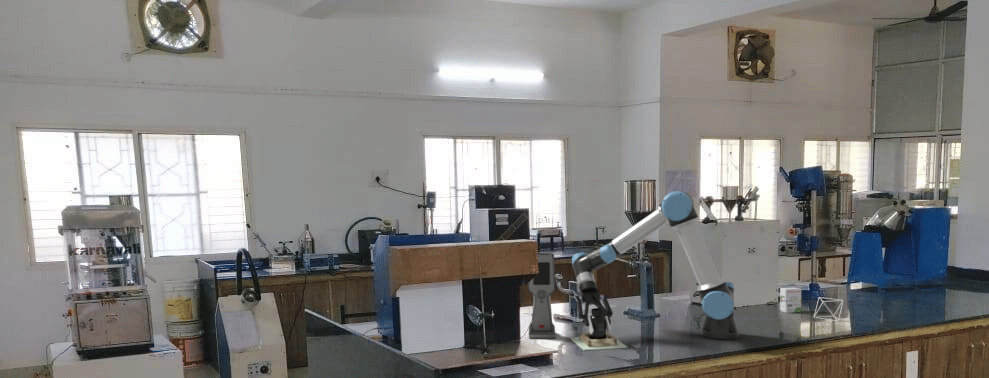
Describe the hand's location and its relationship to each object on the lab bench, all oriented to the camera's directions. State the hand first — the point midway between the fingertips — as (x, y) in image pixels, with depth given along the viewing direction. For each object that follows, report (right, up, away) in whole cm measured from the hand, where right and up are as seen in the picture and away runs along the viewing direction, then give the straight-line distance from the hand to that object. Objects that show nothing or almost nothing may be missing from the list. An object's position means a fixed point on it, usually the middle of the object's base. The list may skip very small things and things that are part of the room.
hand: (600, 332), depth 240 cm
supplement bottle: (-1, -4, +4) cm, 5 cm away
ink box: (+105, -4, +57) cm, 119 cm away
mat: (-1, -5, +4) cm, 6 cm away
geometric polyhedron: (+116, -4, +42) cm, 123 cm away
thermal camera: (-22, -6, +17) cm, 29 cm away
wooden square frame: (-1, -5, +4) cm, 6 cm away
